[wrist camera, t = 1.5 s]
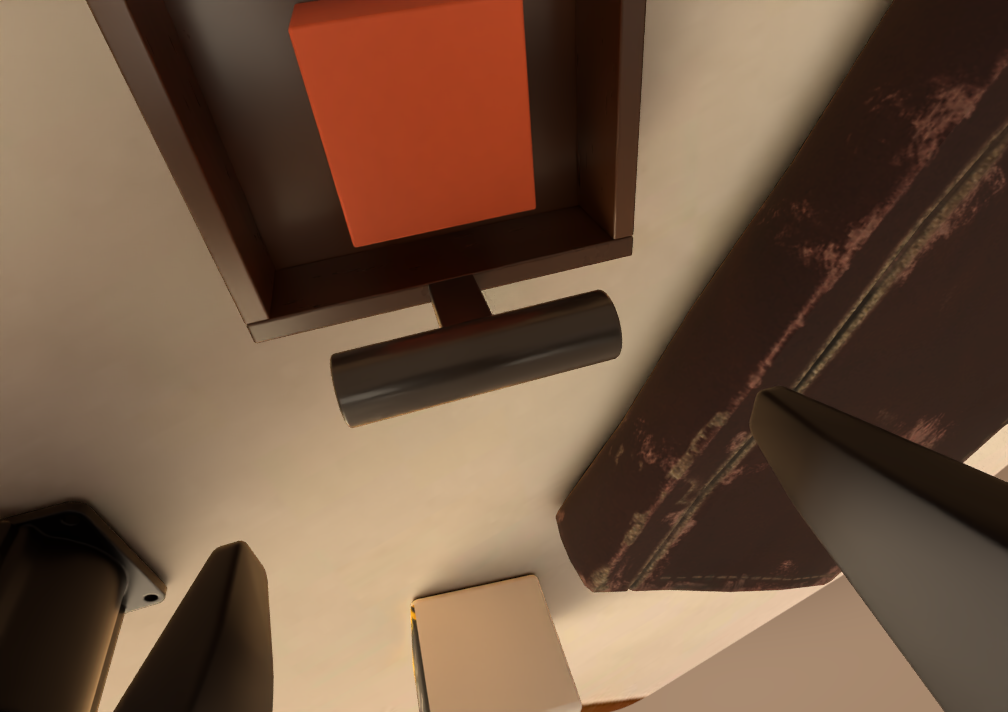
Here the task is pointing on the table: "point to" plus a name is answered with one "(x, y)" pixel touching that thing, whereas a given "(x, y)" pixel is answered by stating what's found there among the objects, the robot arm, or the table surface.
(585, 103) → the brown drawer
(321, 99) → the cube
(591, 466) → the diary
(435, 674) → the medicine bottle
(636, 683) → the table surface
